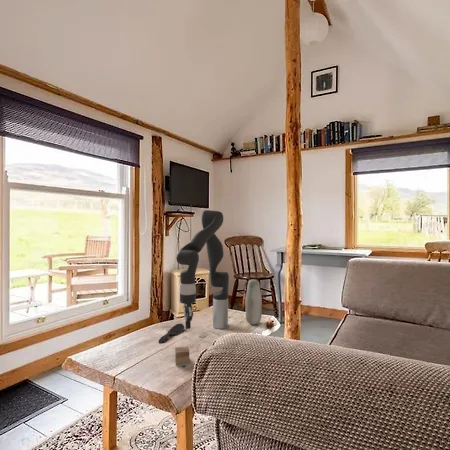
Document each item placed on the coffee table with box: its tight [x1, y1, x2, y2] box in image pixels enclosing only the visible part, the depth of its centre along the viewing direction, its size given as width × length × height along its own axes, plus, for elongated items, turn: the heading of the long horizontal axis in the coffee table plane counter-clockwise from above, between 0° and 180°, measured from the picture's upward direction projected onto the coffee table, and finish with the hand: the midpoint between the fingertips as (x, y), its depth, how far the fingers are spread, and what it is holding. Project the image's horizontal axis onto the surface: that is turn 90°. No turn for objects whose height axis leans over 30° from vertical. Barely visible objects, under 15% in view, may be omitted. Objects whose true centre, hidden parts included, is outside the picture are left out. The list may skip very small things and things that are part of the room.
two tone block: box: [174, 345, 190, 367], centre depth 145 cm, size 6×6×6 cm
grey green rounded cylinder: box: [244, 278, 263, 326], centre depth 199 cm, size 10×10×28 cm
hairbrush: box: [158, 322, 185, 345], centre depth 178 cm, size 8×4×25 cm
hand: (187, 328), depth 151 cm, fingers closed
